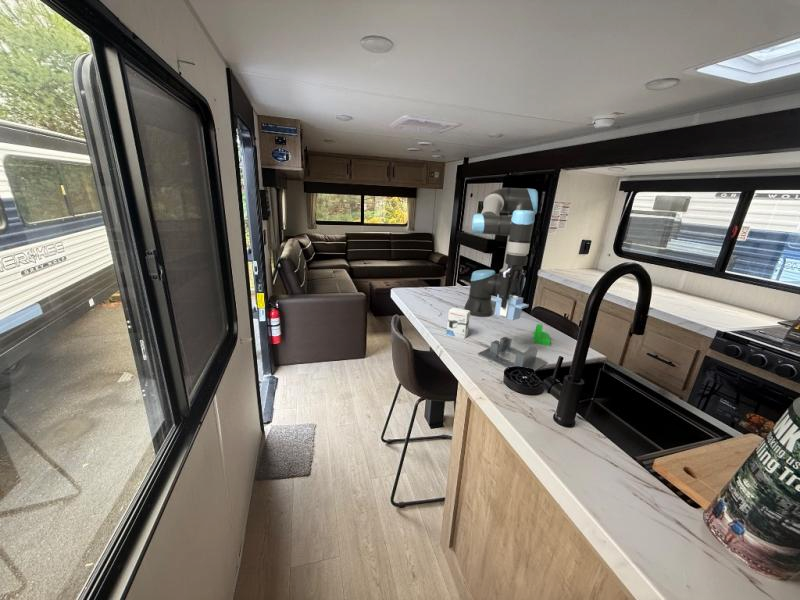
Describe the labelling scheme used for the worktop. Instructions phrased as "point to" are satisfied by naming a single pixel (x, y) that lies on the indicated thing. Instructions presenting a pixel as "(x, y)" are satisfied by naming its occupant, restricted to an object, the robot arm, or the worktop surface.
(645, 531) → the worktop surface
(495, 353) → the chassis pocket
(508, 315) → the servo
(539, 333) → the mechanical part
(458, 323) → the ink box
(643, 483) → the worktop surface
